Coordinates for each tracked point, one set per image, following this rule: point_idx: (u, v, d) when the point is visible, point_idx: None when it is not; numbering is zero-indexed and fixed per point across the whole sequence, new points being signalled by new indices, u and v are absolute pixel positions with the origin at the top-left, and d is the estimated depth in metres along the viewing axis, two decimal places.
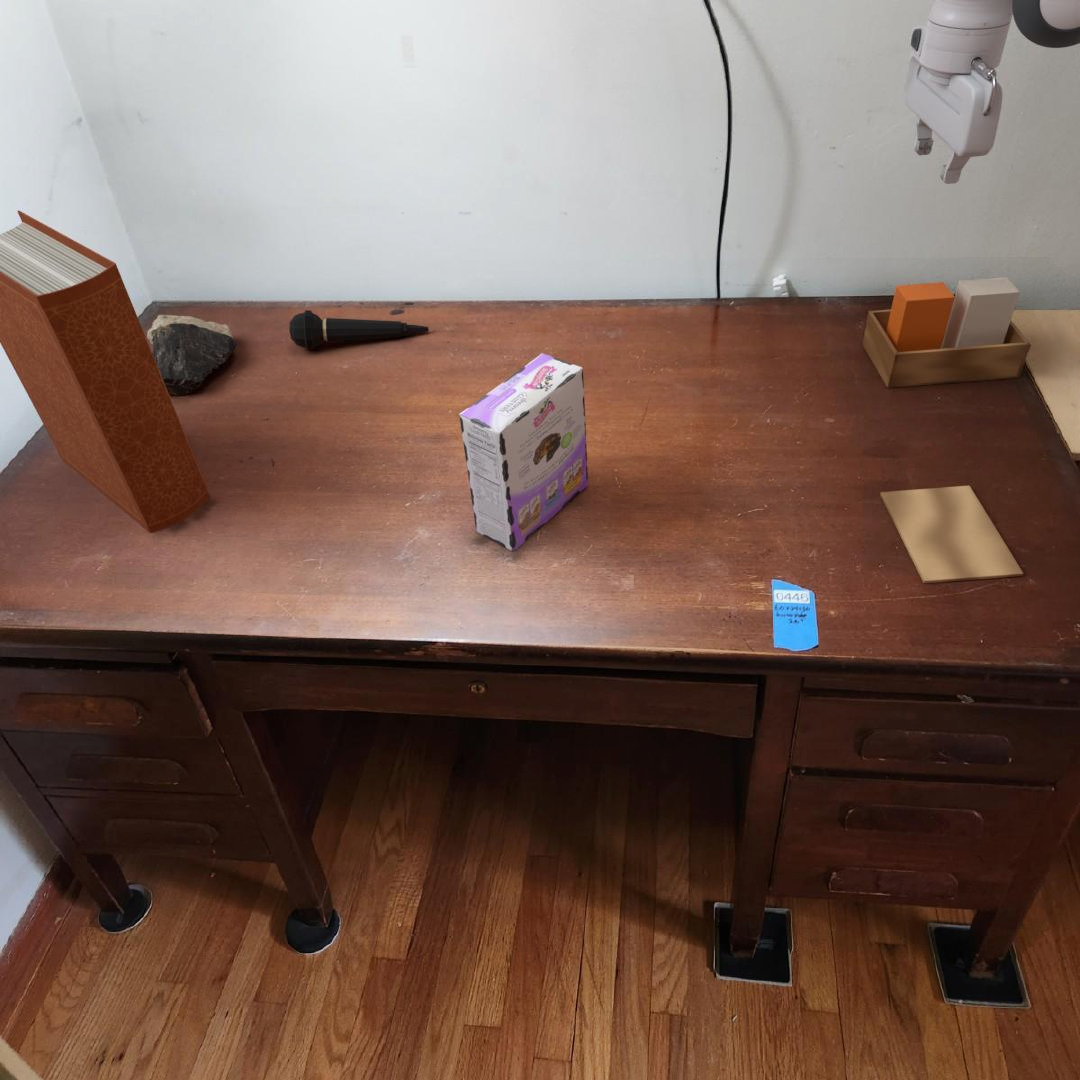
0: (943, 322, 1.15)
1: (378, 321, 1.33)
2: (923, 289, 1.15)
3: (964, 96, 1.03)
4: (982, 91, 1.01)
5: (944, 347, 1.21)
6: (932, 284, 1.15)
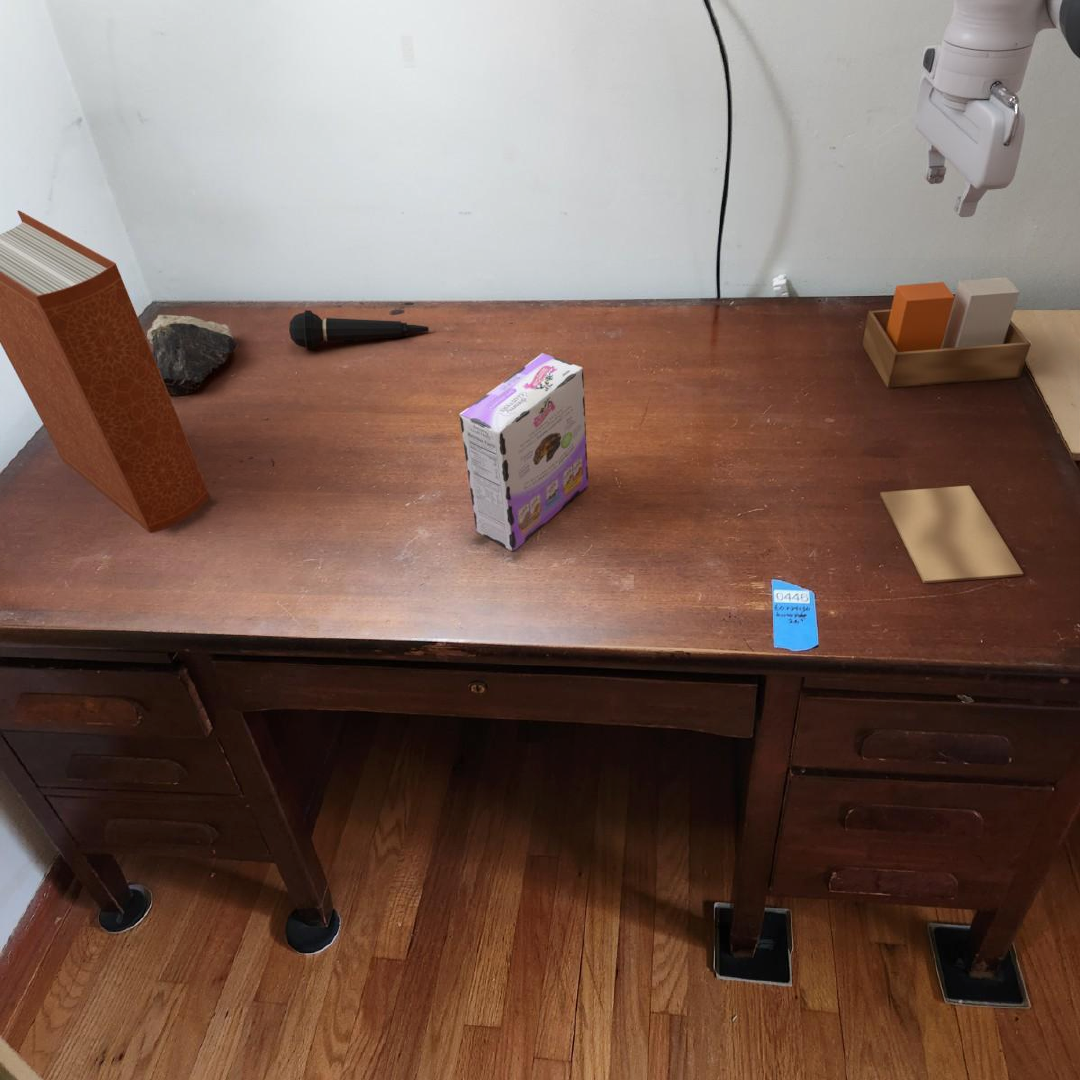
0: (943, 322, 1.15)
1: (378, 321, 1.33)
2: (923, 289, 1.15)
3: (982, 124, 0.94)
4: (1002, 119, 0.92)
5: (944, 347, 1.21)
6: (932, 284, 1.15)
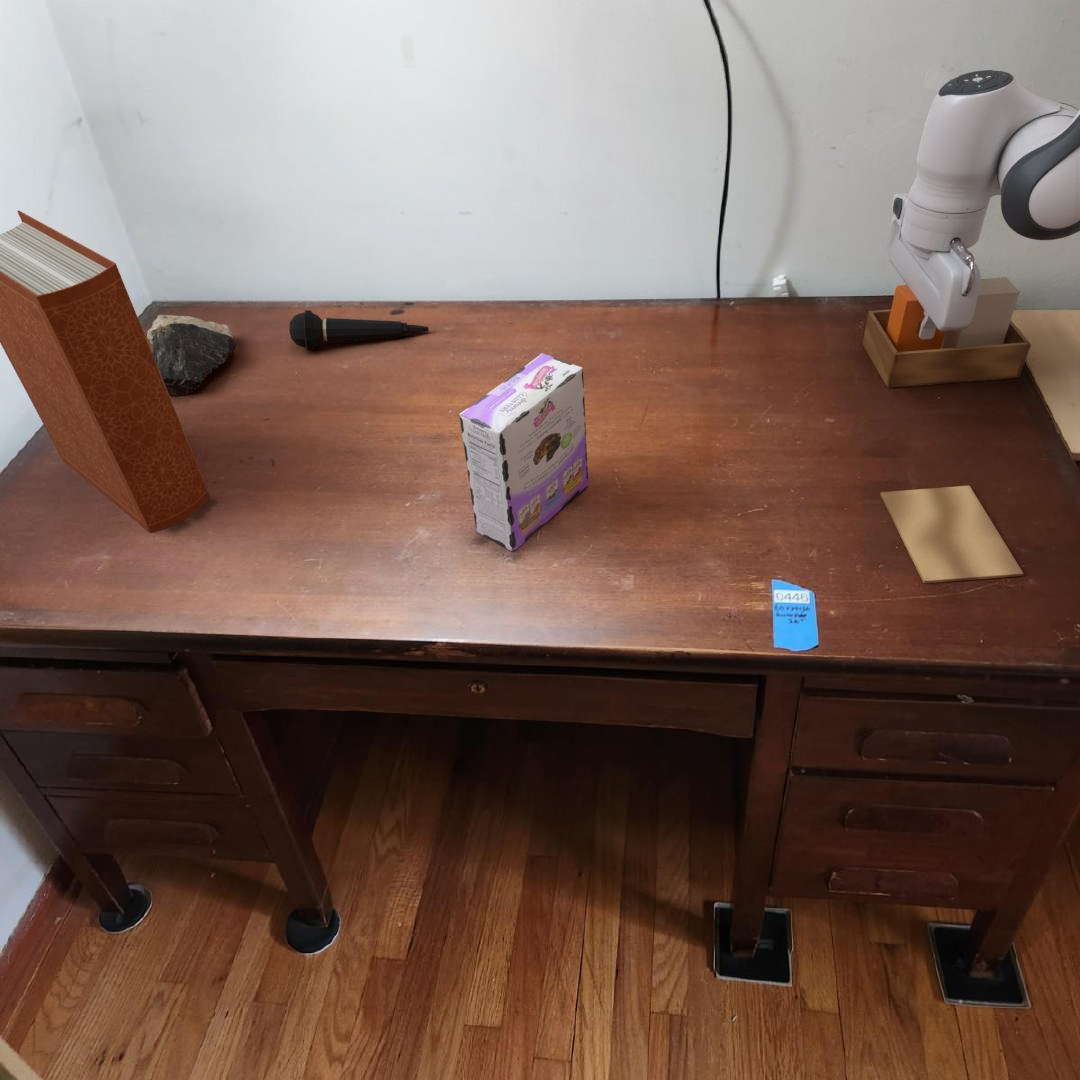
0: None
1: (378, 321, 1.33)
2: None
3: (943, 276, 1.05)
4: (960, 274, 1.03)
5: (944, 347, 1.21)
6: None
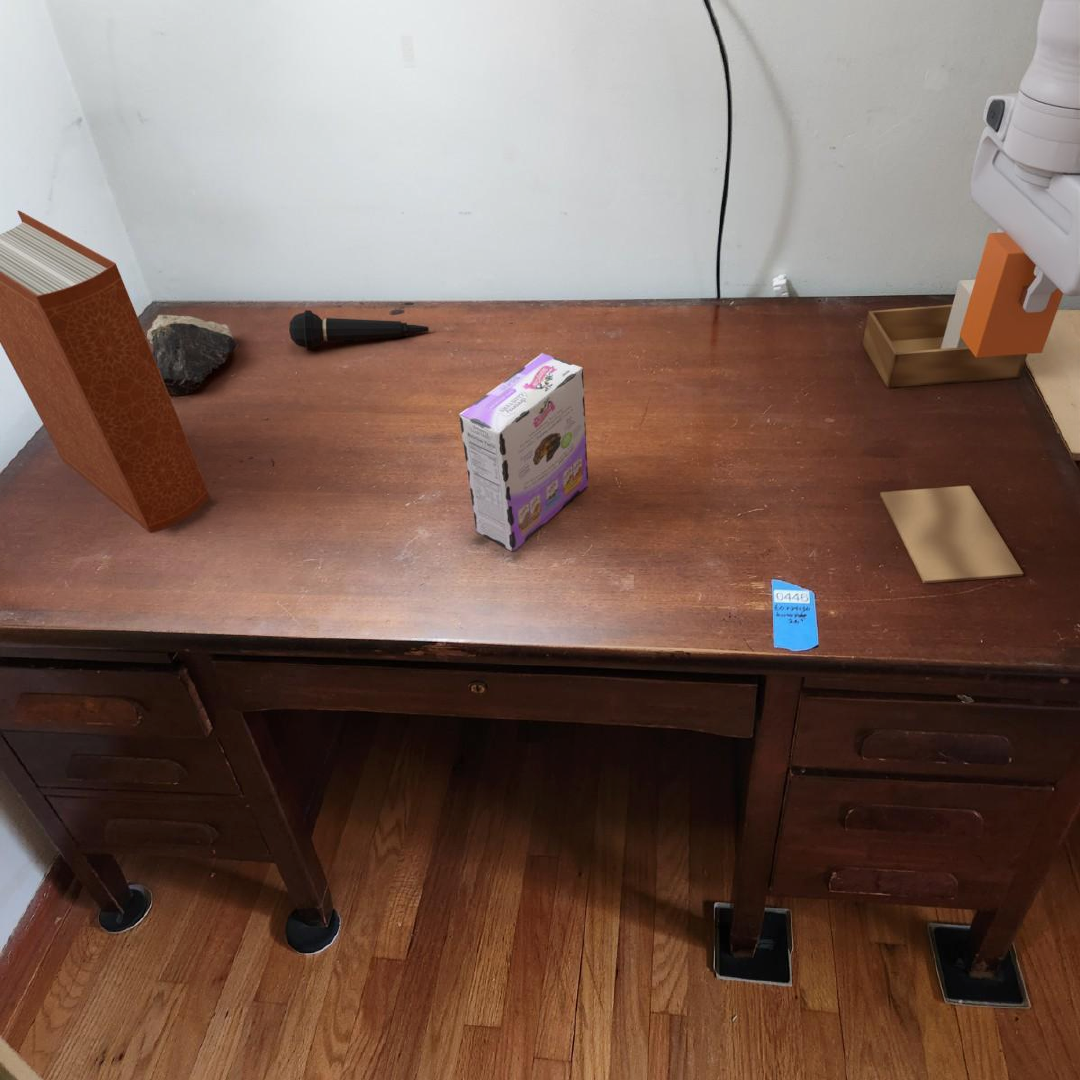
0: None
1: (378, 321, 1.33)
2: None
3: (1076, 209, 0.68)
4: None
5: (944, 347, 1.21)
6: None
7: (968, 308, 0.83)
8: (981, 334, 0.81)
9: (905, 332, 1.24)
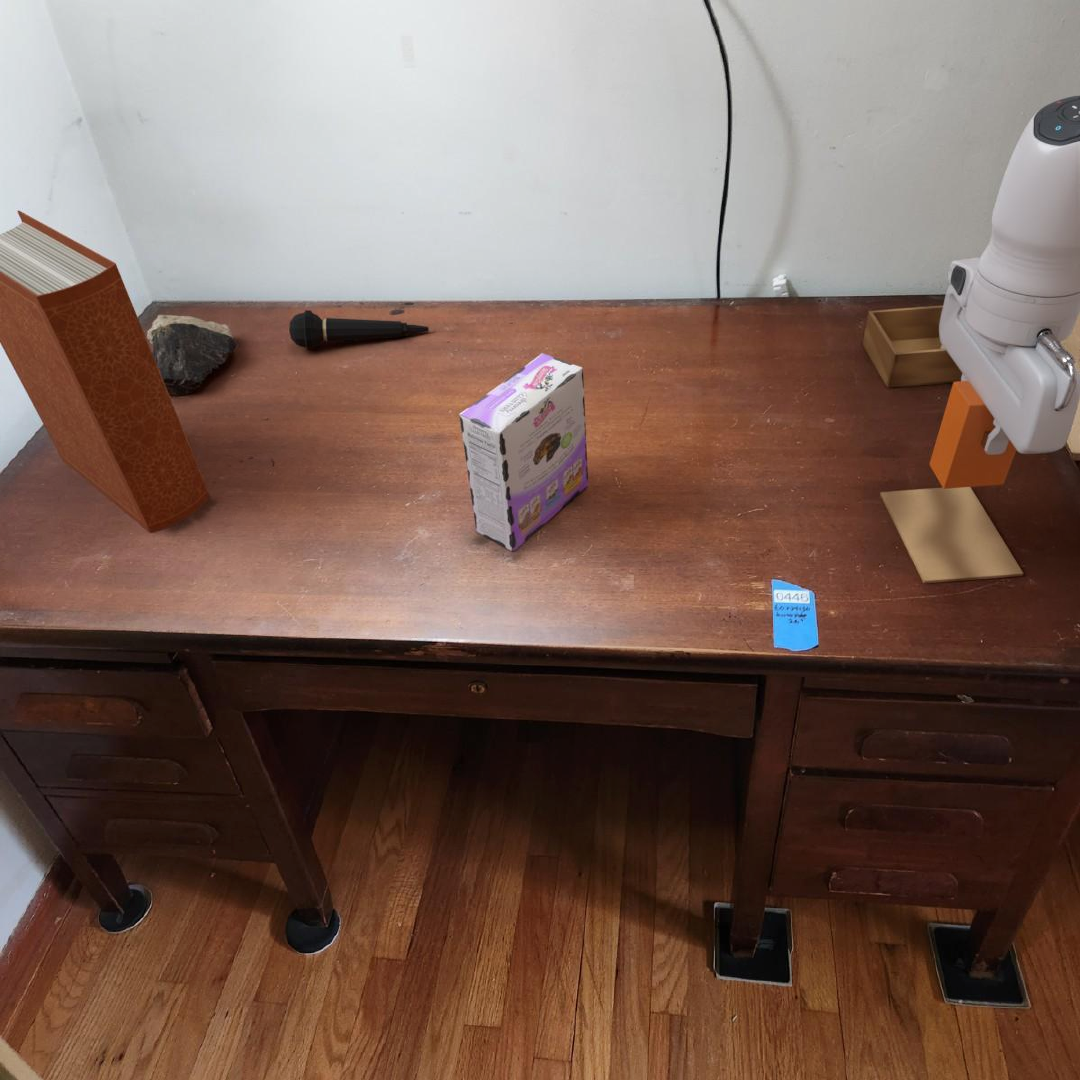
0: None
1: (378, 321, 1.33)
2: None
3: (1027, 381, 0.76)
4: (1053, 381, 0.74)
5: None
6: None
7: (936, 442, 0.91)
8: (948, 469, 0.89)
9: (905, 332, 1.24)
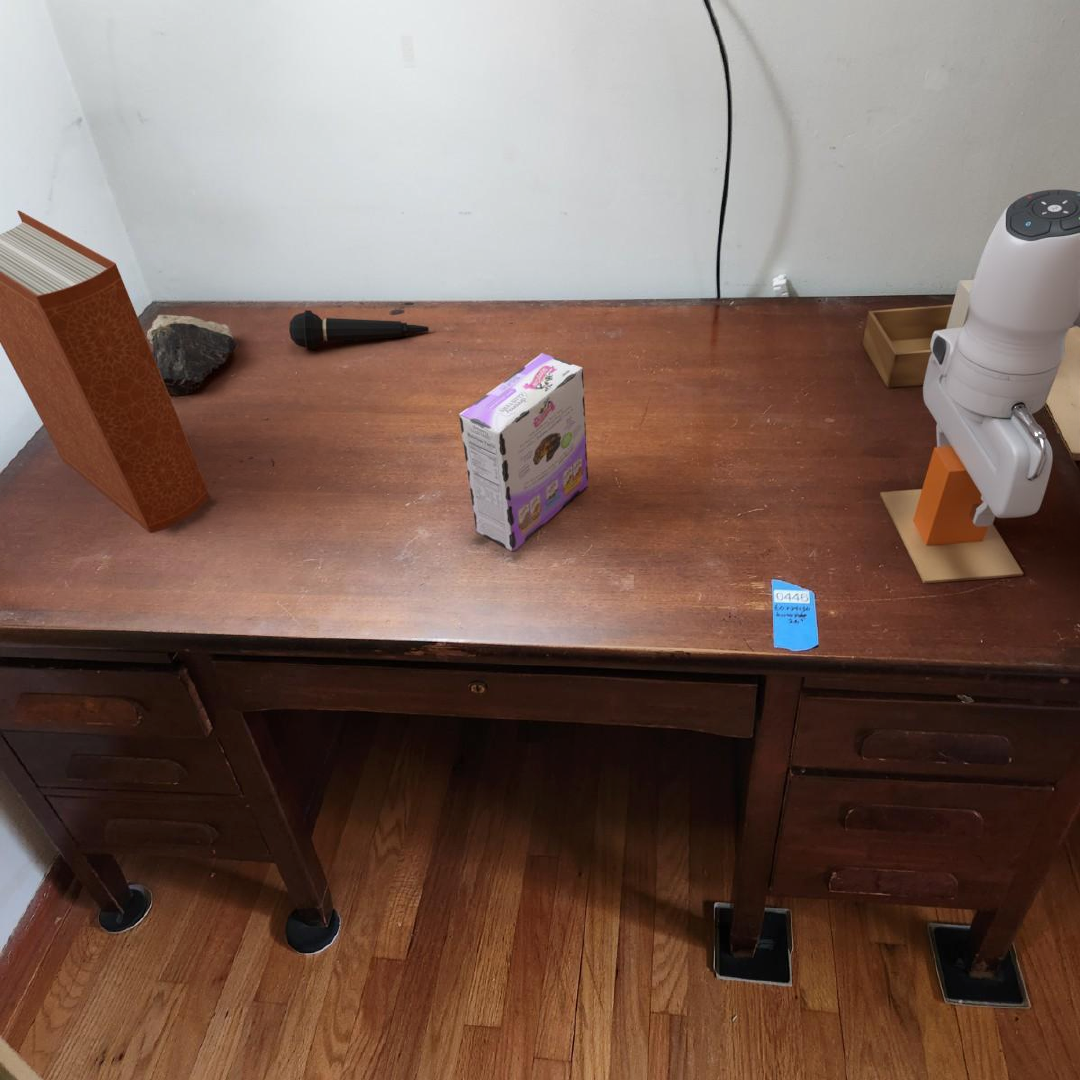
0: None
1: (378, 321, 1.33)
2: None
3: (1002, 452, 0.81)
4: (1026, 453, 0.79)
5: None
6: None
7: (919, 501, 0.96)
8: (930, 528, 0.94)
9: (905, 332, 1.24)
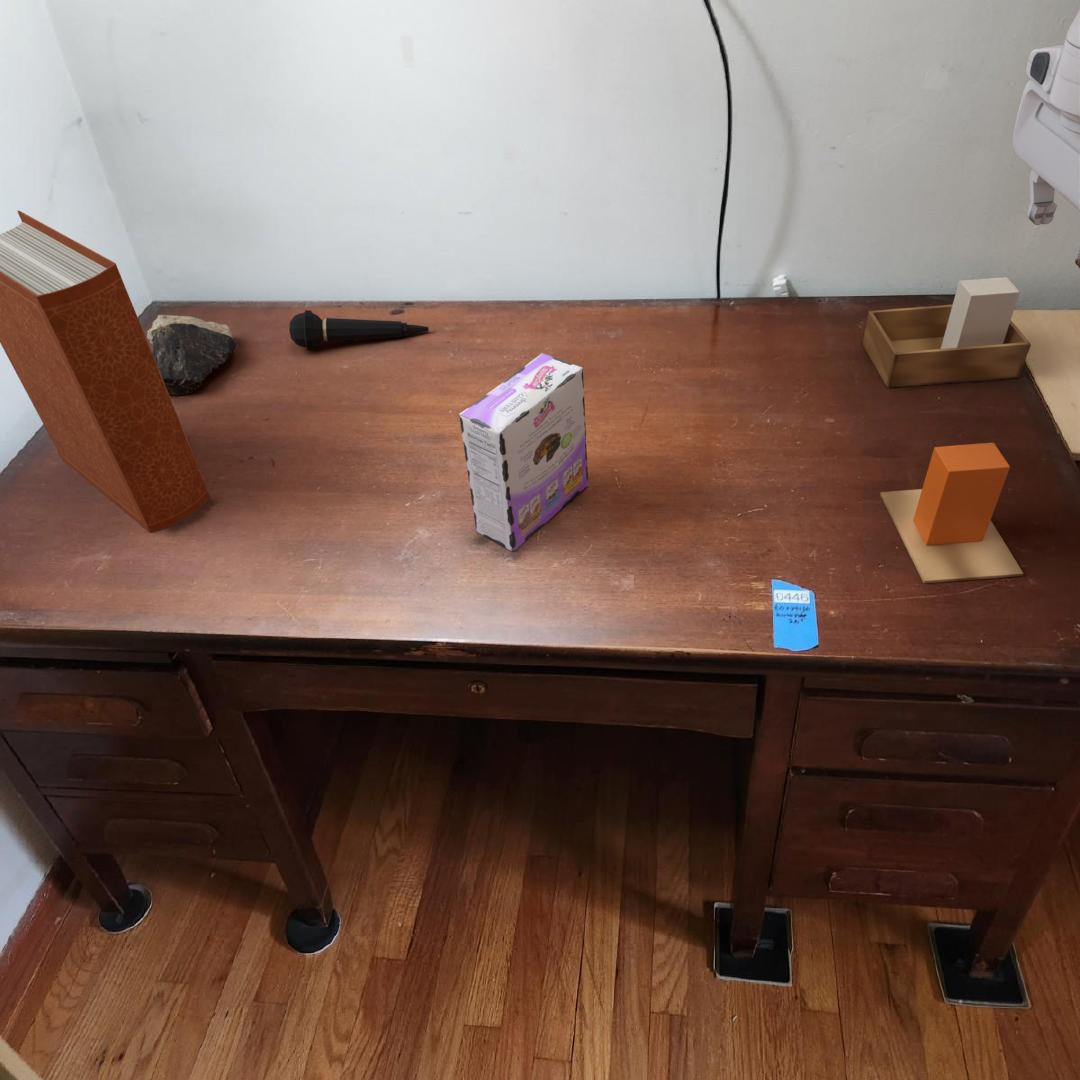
0: (994, 494, 0.91)
1: (378, 321, 1.33)
2: (969, 454, 0.90)
3: None
4: None
5: (944, 347, 1.21)
6: (980, 446, 0.91)
7: (919, 501, 0.96)
8: (930, 528, 0.94)
9: (905, 332, 1.24)
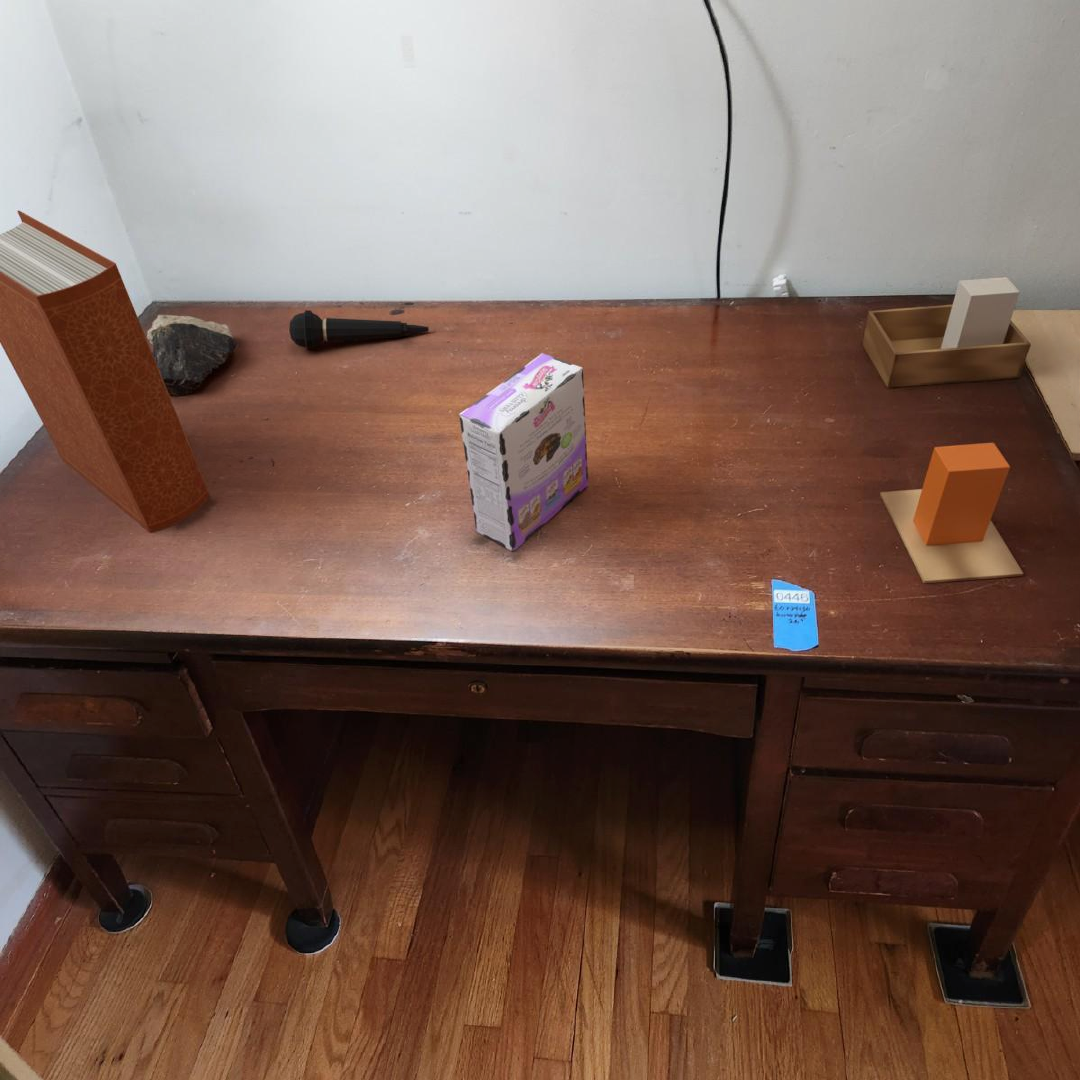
0: (994, 494, 0.91)
1: (378, 321, 1.33)
2: (969, 454, 0.90)
3: None
4: None
5: (944, 347, 1.21)
6: (980, 446, 0.91)
7: (919, 501, 0.96)
8: (930, 528, 0.94)
9: (905, 332, 1.24)
